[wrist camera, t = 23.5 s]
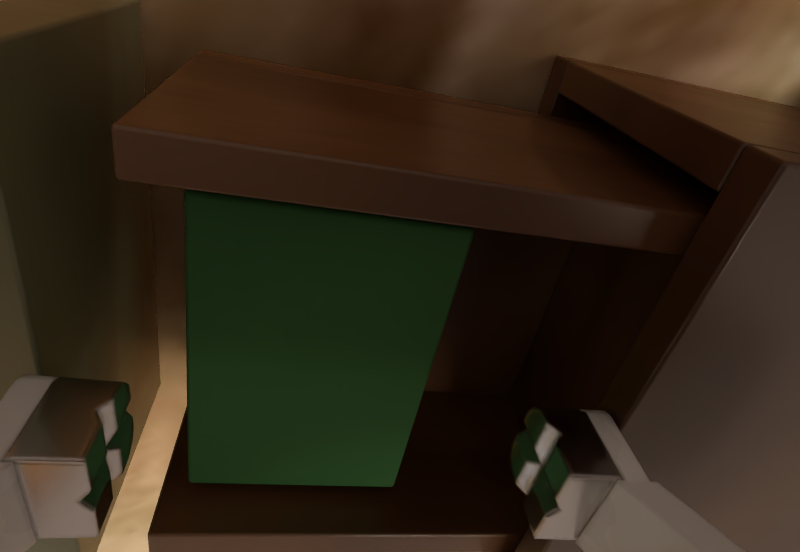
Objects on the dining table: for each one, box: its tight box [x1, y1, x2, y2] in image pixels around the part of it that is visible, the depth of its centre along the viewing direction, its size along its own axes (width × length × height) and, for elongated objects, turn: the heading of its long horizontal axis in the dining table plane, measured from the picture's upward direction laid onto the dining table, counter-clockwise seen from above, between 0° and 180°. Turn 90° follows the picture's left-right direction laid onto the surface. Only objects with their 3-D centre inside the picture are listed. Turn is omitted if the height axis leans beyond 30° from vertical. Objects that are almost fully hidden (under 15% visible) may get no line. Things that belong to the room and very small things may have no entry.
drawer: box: [0, 0, 720, 552], centre depth 12 cm, size 18×11×6 cm, turn 78°
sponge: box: [184, 189, 474, 487], centre depth 12 cm, size 8×5×4 cm, turn 168°
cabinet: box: [503, 56, 800, 552], centre depth 15 cm, size 15×13×8 cm
